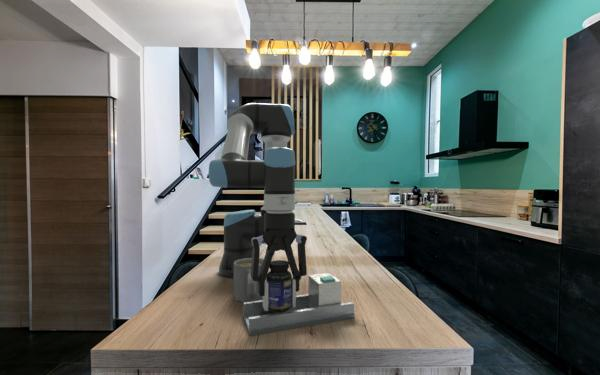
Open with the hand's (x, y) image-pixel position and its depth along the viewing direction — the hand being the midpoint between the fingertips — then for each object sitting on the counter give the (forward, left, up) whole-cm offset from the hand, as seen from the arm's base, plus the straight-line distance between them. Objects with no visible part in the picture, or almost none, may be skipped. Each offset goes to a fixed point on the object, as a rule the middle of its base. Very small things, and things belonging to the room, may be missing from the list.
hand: (279, 306), depth 69 cm
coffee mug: (-17, -4, -4) cm, 18 cm away
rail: (0, +5, -3) cm, 6 cm away
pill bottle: (0, 0, -1) cm, 1 cm away
